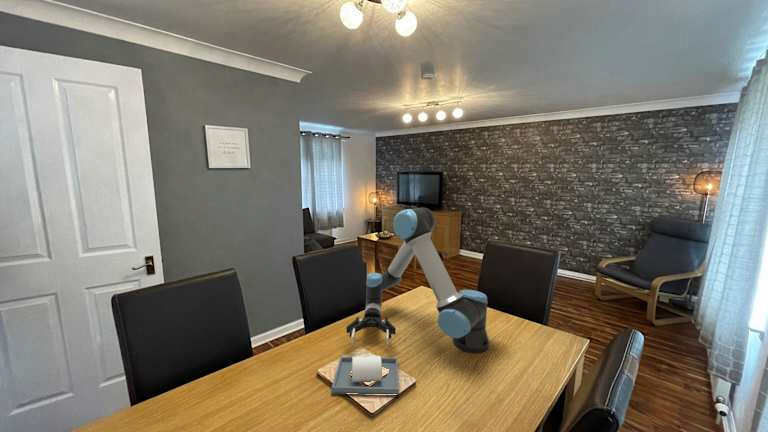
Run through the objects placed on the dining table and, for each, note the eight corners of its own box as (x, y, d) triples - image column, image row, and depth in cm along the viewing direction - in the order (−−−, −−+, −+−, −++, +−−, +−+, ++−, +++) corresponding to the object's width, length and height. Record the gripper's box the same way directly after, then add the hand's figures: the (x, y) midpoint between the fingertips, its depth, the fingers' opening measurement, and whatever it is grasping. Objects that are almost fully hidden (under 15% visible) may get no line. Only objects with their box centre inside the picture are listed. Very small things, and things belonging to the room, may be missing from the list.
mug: (381, 386, 102) (382, 364, 101) (352, 388, 101) (352, 366, 100) (379, 364, 114) (379, 344, 112) (352, 365, 113) (352, 345, 112)
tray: (397, 364, 115) (397, 358, 115) (398, 396, 99) (398, 389, 98) (340, 362, 116) (340, 356, 116) (331, 394, 99) (331, 387, 99)
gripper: (399, 323, 137) (401, 350, 116) (345, 321, 137) (337, 348, 116) (400, 308, 136) (402, 332, 115) (345, 306, 136) (337, 330, 115)
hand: (369, 340), depth 116 cm, fingers open, 13 cm apart
